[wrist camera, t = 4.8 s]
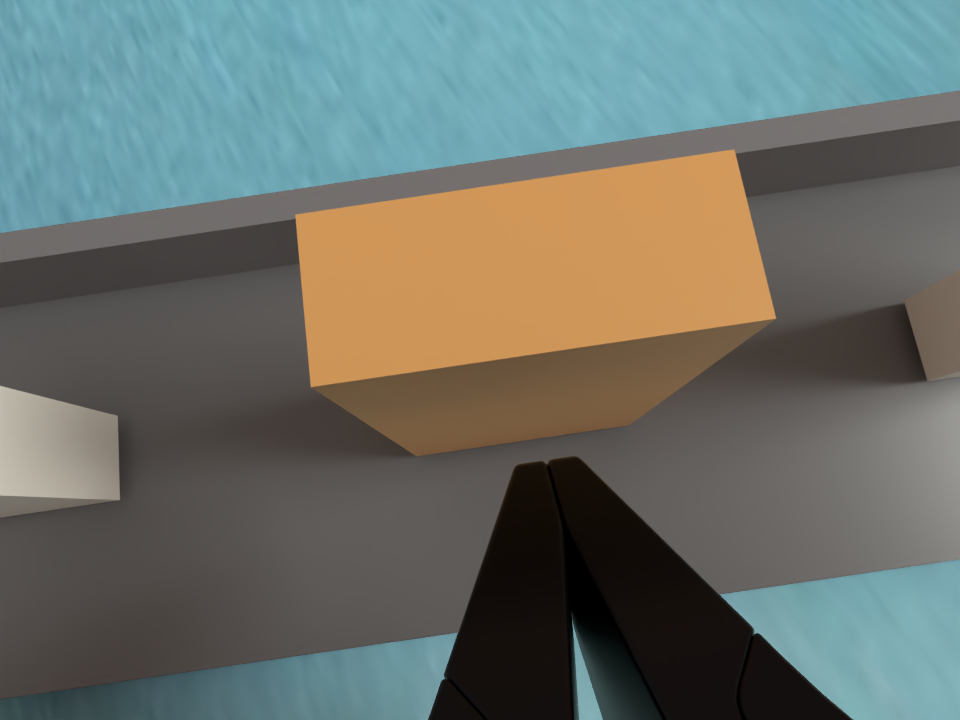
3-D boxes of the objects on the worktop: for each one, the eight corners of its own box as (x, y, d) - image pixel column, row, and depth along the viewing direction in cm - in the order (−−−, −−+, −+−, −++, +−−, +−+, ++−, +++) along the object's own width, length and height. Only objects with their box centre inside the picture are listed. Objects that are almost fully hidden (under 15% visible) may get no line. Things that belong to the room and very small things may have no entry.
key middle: (629, 425, 16) (775, 318, 7) (416, 456, 16) (310, 387, 7) (613, 342, 17) (735, 149, 8) (406, 372, 17) (294, 214, 8)
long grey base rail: (1256, 509, 16) (1452, 507, 13) (-156, 715, 17) (-327, 766, 13) (1111, 133, 19) (1247, 48, 15) (-134, 317, 19) (-275, 274, 15)
